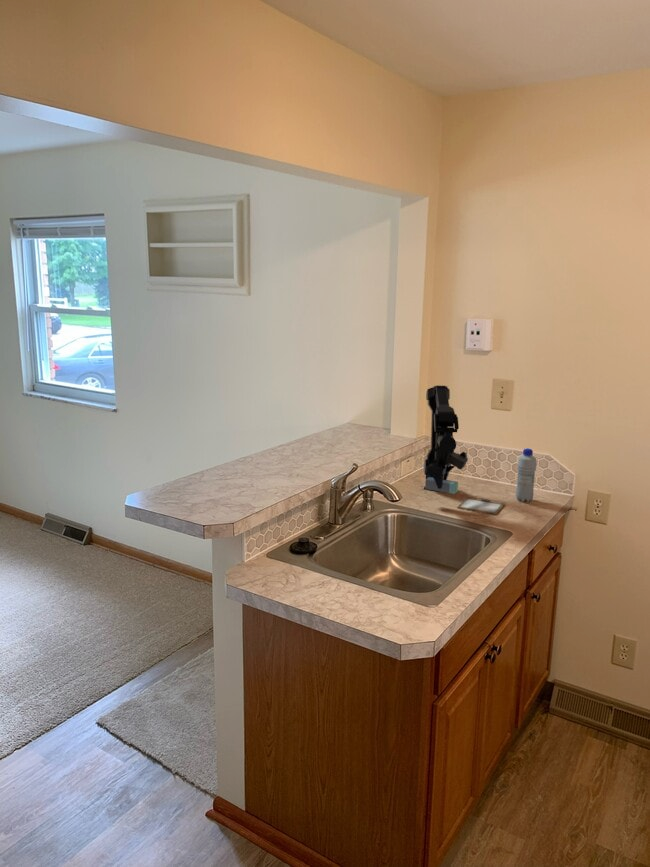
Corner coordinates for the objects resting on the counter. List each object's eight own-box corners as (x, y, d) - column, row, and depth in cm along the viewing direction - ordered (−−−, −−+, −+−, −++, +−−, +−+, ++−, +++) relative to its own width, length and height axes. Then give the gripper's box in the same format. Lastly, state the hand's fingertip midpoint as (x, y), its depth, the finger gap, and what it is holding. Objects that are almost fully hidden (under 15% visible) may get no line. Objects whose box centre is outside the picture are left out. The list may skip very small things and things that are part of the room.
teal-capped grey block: (425, 488, 242) (425, 479, 241) (428, 486, 245) (428, 477, 244) (454, 493, 236) (455, 484, 236) (457, 491, 239) (458, 481, 239)
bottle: (512, 501, 248) (517, 449, 244) (516, 496, 254) (521, 445, 249) (531, 504, 245) (536, 452, 241) (534, 499, 251) (539, 447, 246)
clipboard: (457, 508, 241) (457, 505, 241) (467, 498, 251) (467, 495, 251) (496, 515, 234) (496, 512, 234) (504, 505, 245) (504, 502, 244)
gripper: (457, 454, 225) (454, 498, 229) (473, 442, 241) (470, 483, 244) (426, 450, 230) (424, 493, 234) (444, 438, 246) (441, 478, 250)
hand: (441, 487), depth 240 cm, fingers closed on teal-capped grey block, 3 cm apart
